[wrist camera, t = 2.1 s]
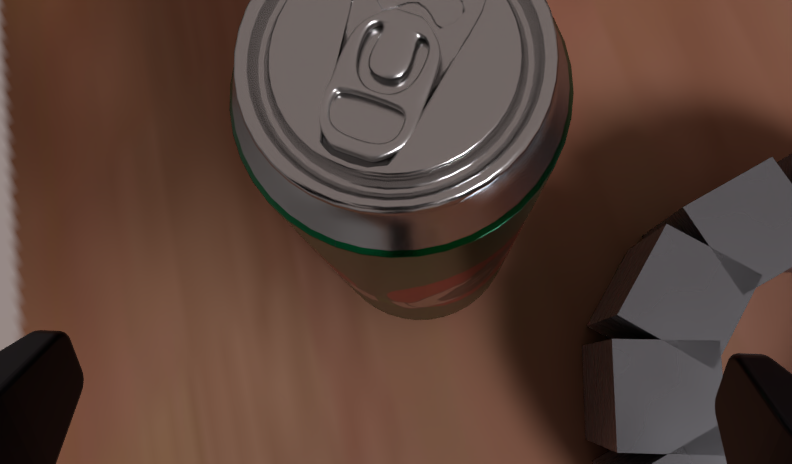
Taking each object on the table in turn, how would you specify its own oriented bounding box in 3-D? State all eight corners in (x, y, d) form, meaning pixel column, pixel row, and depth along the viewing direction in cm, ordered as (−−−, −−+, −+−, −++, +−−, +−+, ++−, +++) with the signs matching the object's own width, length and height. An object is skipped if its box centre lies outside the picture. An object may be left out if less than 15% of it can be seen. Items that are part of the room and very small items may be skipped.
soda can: (526, 189, 21) (639, -57, 9) (471, 346, 20) (515, 301, 8) (373, 137, 21) (291, -155, 10) (312, 287, 20) (141, 165, 9)
